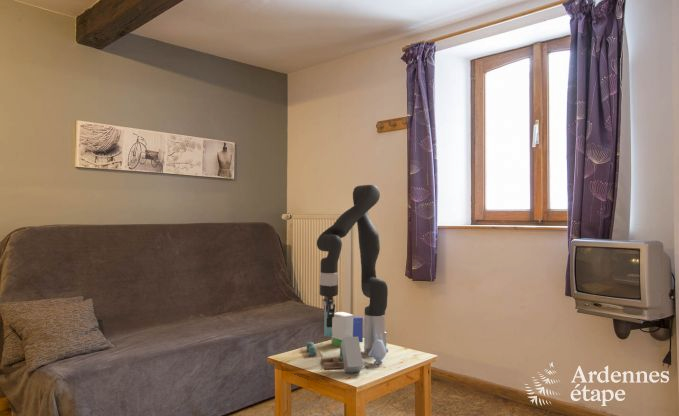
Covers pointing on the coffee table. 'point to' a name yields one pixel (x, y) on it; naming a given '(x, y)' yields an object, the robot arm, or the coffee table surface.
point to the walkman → (358, 328)
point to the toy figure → (378, 350)
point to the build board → (333, 361)
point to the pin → (327, 329)
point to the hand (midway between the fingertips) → (328, 325)
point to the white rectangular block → (351, 354)
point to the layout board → (311, 351)
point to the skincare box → (341, 327)
